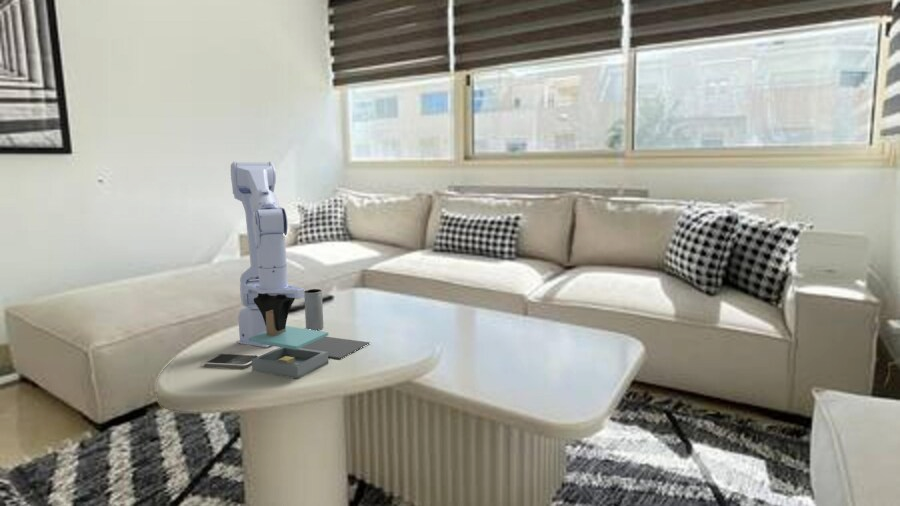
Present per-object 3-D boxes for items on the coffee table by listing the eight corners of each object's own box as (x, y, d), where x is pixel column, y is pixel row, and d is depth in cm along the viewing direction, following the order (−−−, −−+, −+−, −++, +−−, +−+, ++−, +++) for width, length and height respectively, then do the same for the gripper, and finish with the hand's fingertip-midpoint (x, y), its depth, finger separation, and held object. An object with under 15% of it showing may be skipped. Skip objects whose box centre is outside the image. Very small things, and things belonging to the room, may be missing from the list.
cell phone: (247, 371, 116) (246, 364, 116) (199, 368, 118) (198, 362, 117) (261, 361, 122) (261, 355, 122) (216, 359, 124) (215, 353, 123)
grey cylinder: (319, 331, 143) (317, 292, 142) (303, 330, 144) (301, 292, 143) (326, 326, 148) (324, 289, 146) (310, 326, 148) (308, 288, 147)
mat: (290, 351, 127) (290, 350, 127) (322, 337, 138) (322, 336, 137) (340, 359, 121) (340, 357, 121) (369, 344, 132) (369, 342, 132)
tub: (252, 370, 115) (251, 359, 114) (284, 356, 124) (284, 345, 123) (298, 378, 110) (297, 366, 109) (328, 363, 119) (328, 352, 118)
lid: (248, 344, 114) (247, 314, 113) (283, 331, 123) (282, 303, 122) (296, 353, 109) (295, 322, 108) (328, 338, 118) (327, 309, 117)
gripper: (231, 267, 114) (236, 330, 116) (286, 271, 108) (290, 337, 110) (256, 262, 121) (260, 321, 123) (309, 265, 115) (312, 328, 117)
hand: (276, 328), depth 117 cm, fingers closed on lid
